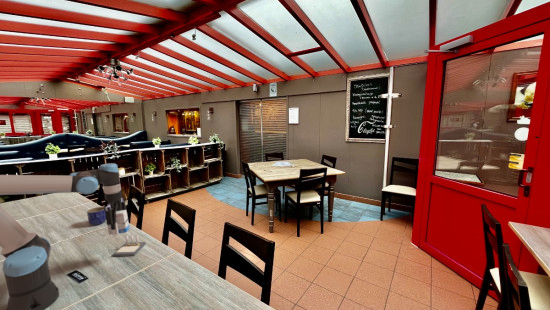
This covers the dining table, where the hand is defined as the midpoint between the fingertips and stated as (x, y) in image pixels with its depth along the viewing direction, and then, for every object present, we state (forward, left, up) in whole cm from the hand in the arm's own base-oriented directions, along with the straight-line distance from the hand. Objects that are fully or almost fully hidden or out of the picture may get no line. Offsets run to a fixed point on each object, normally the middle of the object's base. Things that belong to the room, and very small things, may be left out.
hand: (119, 231), depth 121 cm
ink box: (0, 0, -1) cm, 1 cm away
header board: (+6, 0, -16) cm, 17 cm away
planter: (+43, +45, -16) cm, 64 cm away
